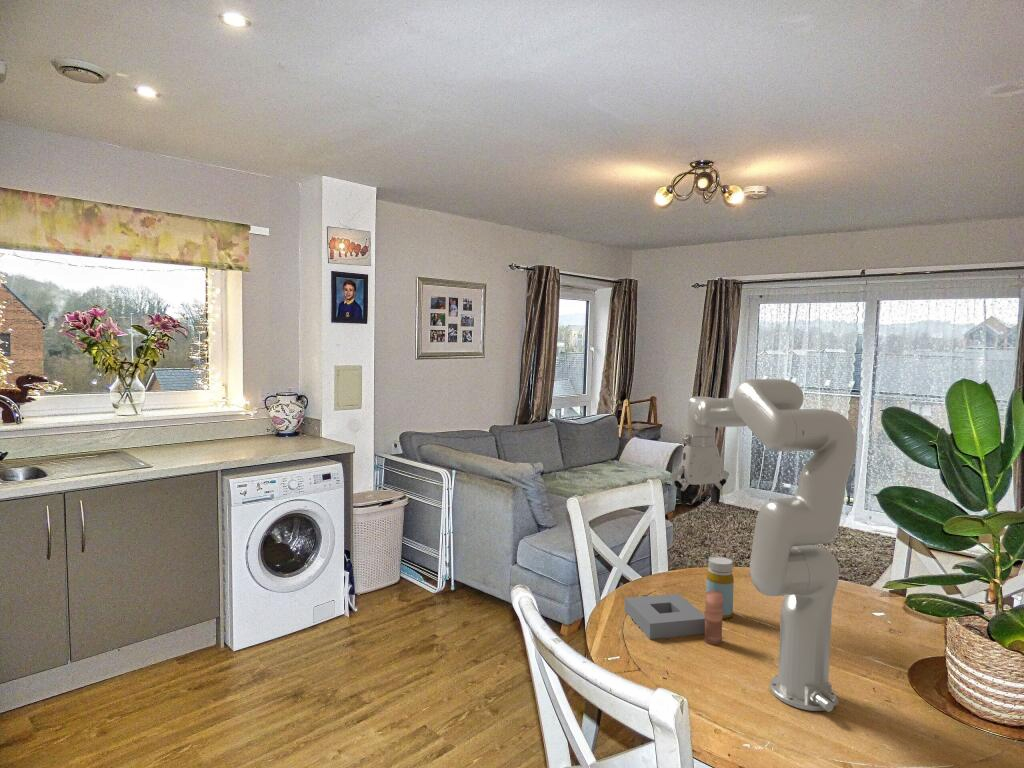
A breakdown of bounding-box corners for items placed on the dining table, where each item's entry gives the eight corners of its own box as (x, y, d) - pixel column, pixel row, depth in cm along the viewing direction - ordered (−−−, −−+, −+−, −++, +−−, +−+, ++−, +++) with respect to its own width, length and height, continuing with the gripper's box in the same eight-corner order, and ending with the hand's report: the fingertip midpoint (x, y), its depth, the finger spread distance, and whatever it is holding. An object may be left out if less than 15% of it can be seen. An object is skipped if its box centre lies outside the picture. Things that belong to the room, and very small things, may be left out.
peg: (724, 644, 151) (726, 596, 150) (709, 646, 150) (711, 597, 149) (715, 637, 155) (717, 590, 154) (701, 638, 154) (702, 591, 153)
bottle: (736, 620, 164) (737, 565, 164) (709, 619, 165) (711, 564, 164) (727, 609, 171) (729, 556, 170) (702, 608, 171) (703, 555, 171)
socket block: (708, 633, 156) (708, 618, 156) (649, 639, 153) (650, 623, 153) (678, 607, 172) (678, 593, 172) (624, 612, 168) (624, 598, 168)
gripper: (678, 444, 163) (676, 508, 164) (737, 443, 166) (734, 505, 167) (665, 440, 170) (663, 501, 171) (721, 439, 174) (720, 498, 175)
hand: (698, 503), depth 169 cm, fingers open, 9 cm apart
